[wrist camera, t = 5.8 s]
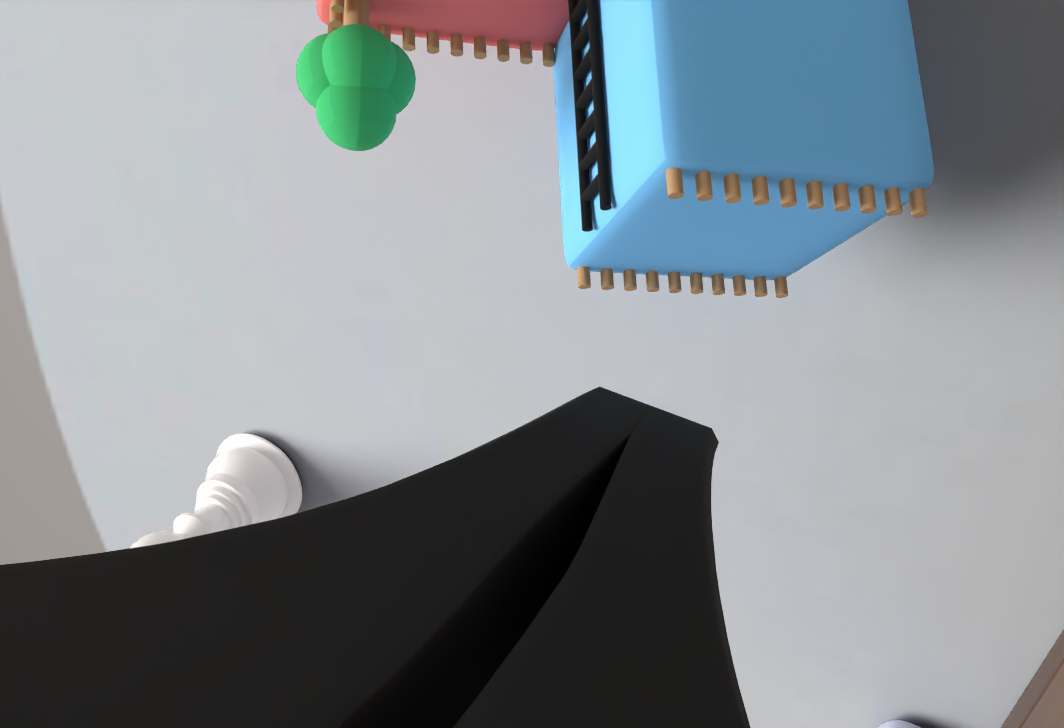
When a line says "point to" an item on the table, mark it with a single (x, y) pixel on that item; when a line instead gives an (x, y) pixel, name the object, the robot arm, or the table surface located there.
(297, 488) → the chess pawn
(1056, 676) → the cabinet
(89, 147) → the table surface
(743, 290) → the building blocks
